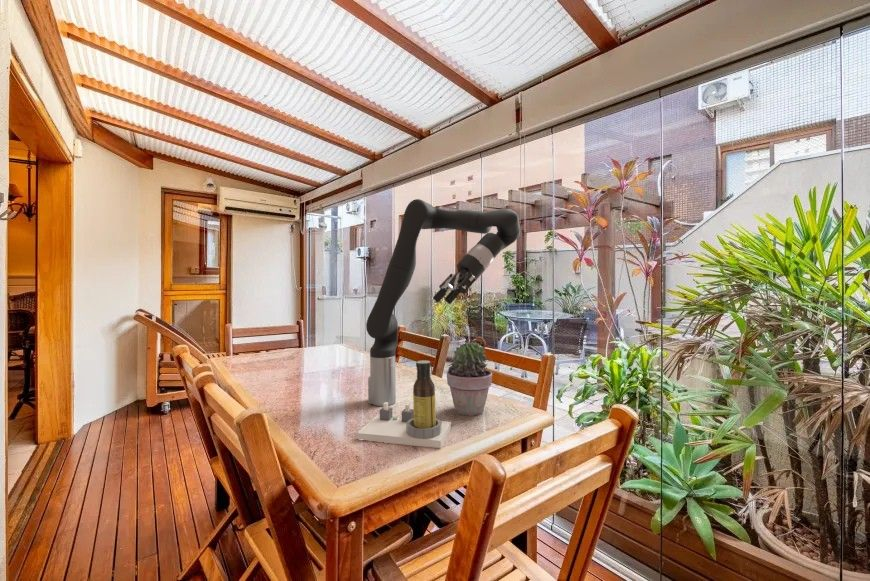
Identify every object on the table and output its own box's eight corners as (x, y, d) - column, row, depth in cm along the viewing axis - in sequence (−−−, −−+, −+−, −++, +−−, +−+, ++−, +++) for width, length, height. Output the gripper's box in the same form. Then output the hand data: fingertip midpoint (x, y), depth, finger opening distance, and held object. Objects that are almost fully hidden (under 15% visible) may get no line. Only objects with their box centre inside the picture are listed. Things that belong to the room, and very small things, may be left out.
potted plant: (433, 417, 123) (432, 341, 123) (452, 400, 142) (452, 333, 141) (487, 425, 117) (487, 344, 116) (500, 405, 135) (500, 336, 134)
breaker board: (357, 440, 106) (357, 414, 106) (376, 422, 120) (376, 399, 120) (440, 448, 101) (440, 421, 100) (450, 428, 114) (450, 404, 114)
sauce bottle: (426, 425, 111) (426, 358, 111) (440, 432, 106) (440, 361, 106) (408, 430, 107) (408, 361, 107) (422, 437, 102) (422, 364, 102)
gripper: (457, 255, 120) (423, 291, 116) (479, 251, 107) (442, 292, 102) (471, 271, 122) (439, 308, 118) (495, 270, 109) (459, 311, 105)
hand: (440, 301), depth 110 cm, fingers open, 8 cm apart
